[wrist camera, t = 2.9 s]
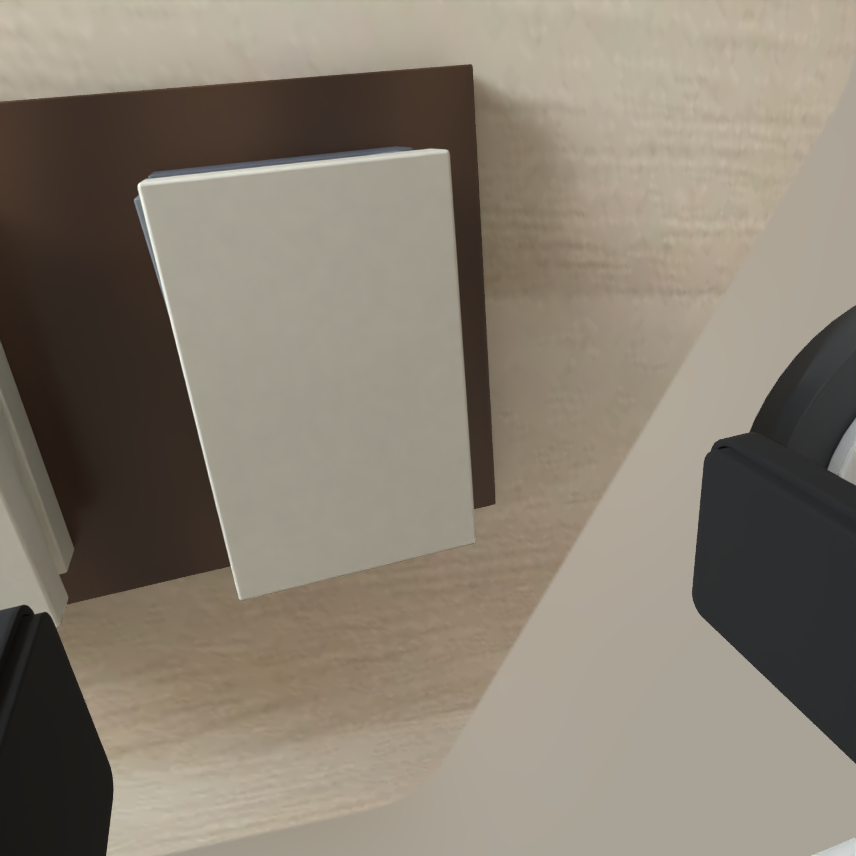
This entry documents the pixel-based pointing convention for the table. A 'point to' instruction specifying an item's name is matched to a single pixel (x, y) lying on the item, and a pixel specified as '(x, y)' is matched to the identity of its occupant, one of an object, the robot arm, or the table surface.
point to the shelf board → (143, 300)
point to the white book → (321, 359)
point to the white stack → (28, 514)
